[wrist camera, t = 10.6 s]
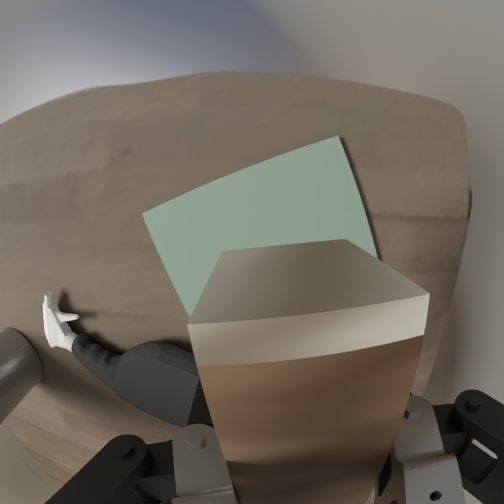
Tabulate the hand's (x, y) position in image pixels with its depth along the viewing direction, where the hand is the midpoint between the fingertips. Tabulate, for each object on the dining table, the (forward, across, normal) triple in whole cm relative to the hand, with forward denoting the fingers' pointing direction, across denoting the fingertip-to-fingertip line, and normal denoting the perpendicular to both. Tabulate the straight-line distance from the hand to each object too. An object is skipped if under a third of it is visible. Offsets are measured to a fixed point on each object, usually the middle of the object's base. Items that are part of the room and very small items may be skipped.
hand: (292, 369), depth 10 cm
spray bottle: (+15, +16, +10) cm, 24 cm away
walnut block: (-2, 0, +6) cm, 7 cm away
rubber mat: (+15, 0, 0) cm, 15 cm away
